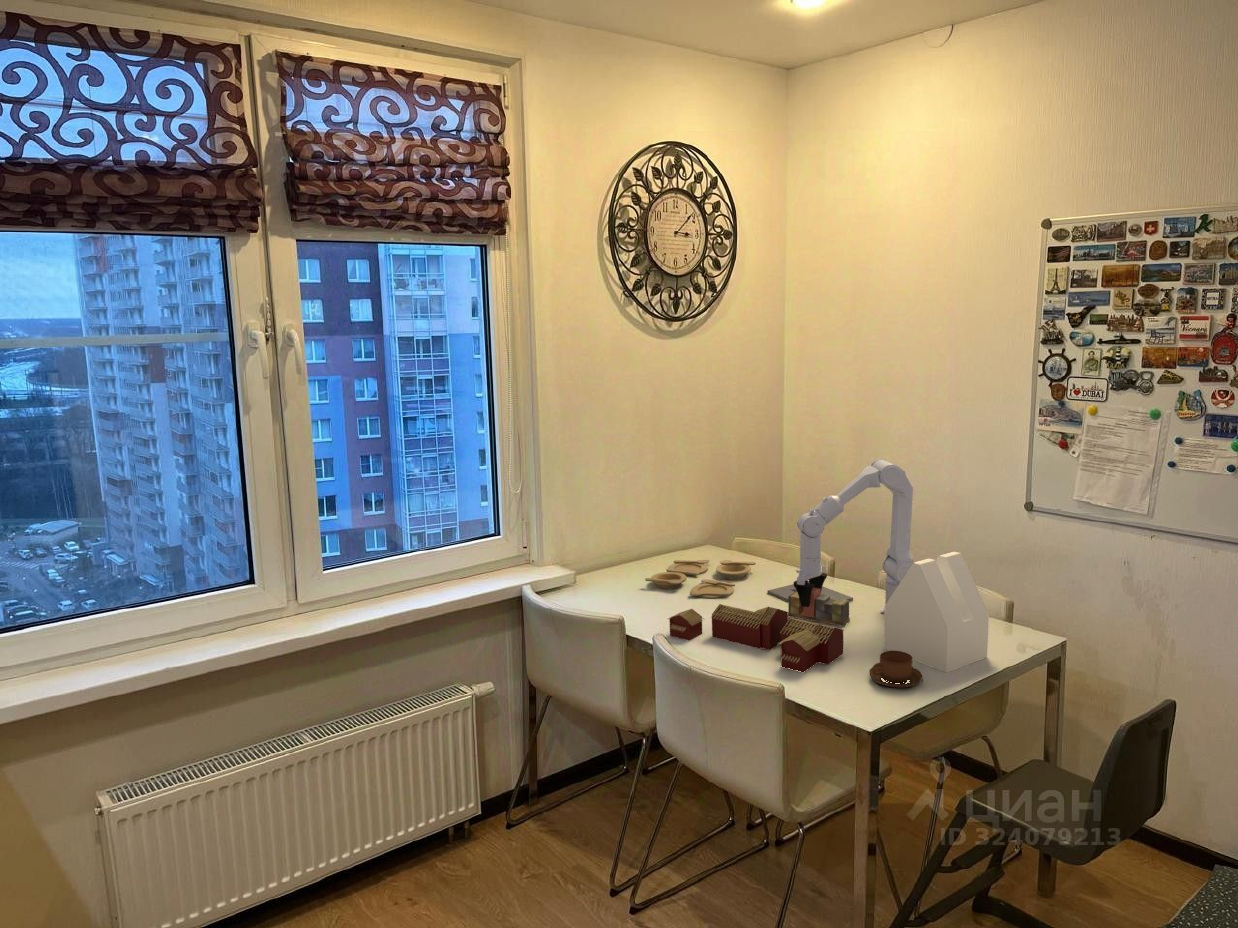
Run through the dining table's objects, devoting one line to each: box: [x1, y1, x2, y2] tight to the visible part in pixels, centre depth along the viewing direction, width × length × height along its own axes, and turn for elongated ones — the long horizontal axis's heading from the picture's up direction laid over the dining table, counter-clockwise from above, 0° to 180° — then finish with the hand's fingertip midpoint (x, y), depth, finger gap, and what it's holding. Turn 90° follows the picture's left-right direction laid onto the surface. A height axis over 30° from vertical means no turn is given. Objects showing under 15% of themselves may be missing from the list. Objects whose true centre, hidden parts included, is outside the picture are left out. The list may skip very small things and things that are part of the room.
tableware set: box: [644, 559, 756, 599], centre depth 293 cm, size 35×29×4 cm
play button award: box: [767, 580, 854, 603], centre depth 273 cm, size 16×2×20 cm
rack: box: [787, 592, 851, 627], centre depth 255 cm, size 17×4×6 cm, turn 56°
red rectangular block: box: [804, 588, 821, 618], centre depth 256 cm, size 3×5×7 cm, turn 146°
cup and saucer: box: [868, 650, 923, 688], centre depth 213 cm, size 12×12×6 cm
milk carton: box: [883, 551, 990, 674], centre depth 227 cm, size 19×15×25 cm
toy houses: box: [667, 603, 845, 673], centre depth 238 cm, size 45×20×10 cm, turn 50°
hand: (810, 602), depth 256 cm, fingers open, 7 cm apart
